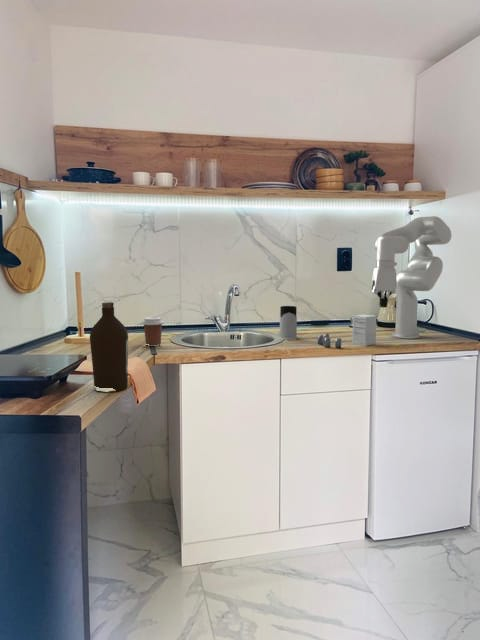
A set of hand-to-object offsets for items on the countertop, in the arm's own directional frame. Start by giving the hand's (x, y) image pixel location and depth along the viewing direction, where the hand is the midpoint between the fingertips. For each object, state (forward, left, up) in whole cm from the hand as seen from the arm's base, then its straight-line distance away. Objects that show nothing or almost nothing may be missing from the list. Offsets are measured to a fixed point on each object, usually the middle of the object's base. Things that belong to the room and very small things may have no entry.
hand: (383, 307), depth 204 cm
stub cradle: (+26, 0, -16) cm, 30 cm away
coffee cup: (+99, -19, -16) cm, 102 cm away
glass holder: (+36, -24, -16) cm, 46 cm away
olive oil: (+114, +47, -16) cm, 124 cm away
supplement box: (+9, 0, -16) cm, 18 cm away
